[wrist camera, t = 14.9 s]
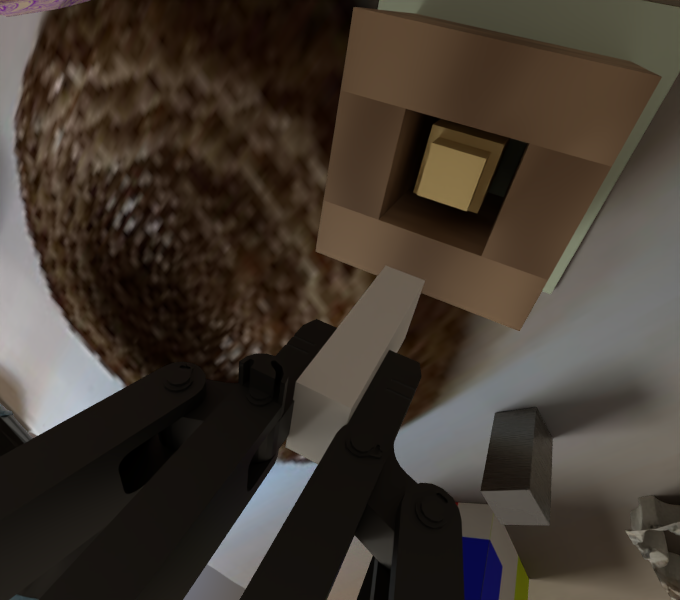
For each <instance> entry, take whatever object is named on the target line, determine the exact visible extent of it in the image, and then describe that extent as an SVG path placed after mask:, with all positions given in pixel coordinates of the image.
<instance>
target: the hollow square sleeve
mask: <svg viewBox="0 0 680 600" xmlns="http://www.w3.org/2000/svg"><path fill="white" fill-rule="evenodd" d="M661 78H662V77H661V76H659V75H657V74H655V73H653V72H651V71H649V70H647V69H645V68H643V67H641V66H639V65H637V64H635V63H633V62H631V61H627V60H623V59H618V58H614V57H609V56H605V55H600V54H596V53H591V52H587V51H582V50H578V49H573V48H569V47H564V46H560V45H555V44H551V43H546V42H542V41H537V40H533V39H528V38H524V37H519V36H515V35H510V34H506V33H501V32H497V31H492V30H488V29H483V28H479V27H474V26H470V25H465V24H461V23H456V22H452V21H447V20H443V19H438V18H434V17H429V16H425V15H420V14H415V13H406V12H397V11H387V10H378V9H368V8H359V7H354V8H353V15H352V21H351V28H350V34H349V40H348V47H347V53H346V60H345V66H344V72H343V79H342V85H341V92H340V98H339V104H338V111H337V117H336V124H335V130H334V137H333V143H332V149H331V156H330V162H329V169H328V175H327V181H326V188H325V194H324V201H323V207H322V213H321V220H320V226H319V233H318V239H317V245H316V252H318V253H321V254H323V255H326V256H328V257H331V258H334V259H336V260H339V261H341V262H344V263H346V264H349V265H351V266H354V267H357V268H359V269H362V270H364V271H367V272H369V273H372V274H375V275H377V276H378V275H379V274H380V272H381V271H382V270H383V269H384V267H385V266H388V267H391V268H394V269H396V270H399V271H401V272H404V273H407V274H409V275H412V276H414V277H417V278H420V279H422V280H425V282H424V285H423V288H422V291H421V293H423V294H426V295H428V296H431V297H433V298H436V299H439V300H441V301H444V302H446V303H449V304H451V305H454V306H456V307H459V308H462V309H464V310H467V311H469V312H472V313H474V314H477V315H480V316H482V317H485V318H487V319H490V320H492V321H495V322H497V323H500V324H503V325H505V326H508V327H510V328H513V329H515V330H518V331H520V329H521V328H522V326H523V324H524V322H525V320H526V319H527V317H528V315H529V313H530V312H531V310H532V308H533V306H534V304H535V303H536V301H537V299H538V297H539V296H540V294H541V292H542V290H543V288H544V287H545V285H546V283H547V281H548V279H549V278H550V276H551V274H552V272H553V271H554V269H555V267H556V265H557V263H558V262H559V260H560V258H561V256H562V255H563V253H564V251H565V249H566V247H567V246H568V244H569V242H570V240H571V238H572V237H573V235H574V233H575V231H576V230H577V228H578V226H579V224H580V222H581V221H582V219H583V217H584V215H585V214H586V212H587V210H588V208H589V206H590V205H591V203H592V201H593V199H594V197H595V196H596V194H597V192H598V190H599V189H600V187H601V185H602V183H603V181H604V180H605V178H606V176H607V174H608V173H609V171H610V169H611V167H612V165H613V164H614V162H615V160H616V158H617V156H618V155H619V153H620V151H621V149H622V148H623V146H624V144H625V142H626V140H627V139H628V137H629V135H630V133H631V132H632V130H633V128H634V126H635V124H636V123H637V121H638V119H639V117H640V115H641V114H642V112H643V110H644V108H645V107H646V105H647V103H648V101H649V99H650V98H651V96H652V94H653V92H654V91H655V89H656V87H657V85H658V83H659V82H660V80H661ZM440 119H444V120H448V121H451V122H455V123H459V124H462V125H466V126H469V127H473V128H476V129H480V130H483V131H487V132H490V133H494V134H498V135H501V136H505V137H508V138H512V139H515V140H519V141H522V142H526V146H525V148H524V151H523V153H522V155H521V158H520V160H519V162H518V165H517V167H516V169H515V172H514V174H513V176H512V179H511V181H510V183H509V186H508V188H507V191H506V193H505V195H504V197H501V196H498V195H495V194H492V193H489V192H488V193H487V195H486V197H485V199H484V201H483V203H482V205H481V207H480V209H479V211H478V213H474V212H471V211H468V210H467V211H464V210H461V209H458V208H455V207H452V206H449V205H446V204H443V203H440V202H437V201H434V200H431V199H428V198H425V197H422V196H419V195H417V194H416V193H413V191H414V188H415V184H416V181H417V178H418V174H419V171H420V167H421V164H422V160H423V157H424V153H425V150H426V146H427V143H428V139H429V136H430V132H431V129H432V125H433V124H434V123H435V122H437V121H438V120H440Z"/></svg>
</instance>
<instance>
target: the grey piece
mask: <svg viewBox="0 0 680 600" xmlns="http://www.w3.org/2000/svg"><path fill="white" fill-rule="evenodd" d="M638 501H639V507H638V508H637V509H635V510H633V511H631V514H630V516H631V526H632V531H631V530H625V531H626V533H627V534H628V536H629V538H630V539H631V541H632V543H633V544H634V545H636V546H637V547H638V549H639V551H640V552H641V554H642V556H643V558H644V559H645V560H649V561H650V563H651V565H652V567H653V569H654V571H655V573H656V575H657V577H658V578H659V580H660V582H661V584H662V586H663V587H664V589H665V590H666V592H667V593H668V594H669V596H670V597H671V599H672V600H680V555H678V554H675V553H672V552H668V549H667V544H666V539H665V534H664V532H663V530H669V531H670V532H673V533H674V534H676V535H680V505H671V504H667V503H664V502H661V501H659V500H658V499H657V498H655V497H654V496H645V497H640V498H638Z"/></svg>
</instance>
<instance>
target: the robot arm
mask: <svg viewBox="0 0 680 600" xmlns="http://www.w3.org/2000/svg"><path fill="white" fill-rule="evenodd" d="M424 282H425V280H422V279H420V278H417V277H414V276H412V275H409V274H407V273H404V272H401V271H399V270H396V269H394V268H391V267H388V266H385V267H384V269H383V270H382V271H381V272H380V274H379V275H378V276H377V278H376V279H375V280H374V281H373V283H372V284H371V285H370V287H369V288H368V289H367V290H366V292H365V293H364V294H363V296H362V297H361V298H360V300H359V301H358V302H357V303H356V305H355V306H354V307H353V309H352V310H351V311H350V312H349V314H348V315H347V316H346V318H345V319H344V320H343V321H342V323H341V324H340V325H339V327H338V328H336V327H333V326H331V325H329V324H327V323H324V322H322V321H320V320H317V319H316V320H313V321H311V322H309V323H307V324H305V325H303V326H302V327H301V328H300V329H299V330H298V332H297V333H296V334H295V335H294V337H292V338H291V339H290V340H289V342H288V343H287V345H285V346H284V347H283V348H282V349H281V351H280V352H279V353H278V354H277V355H276V356H273V355H269V354H253V355H250V356H247V357H245V358H244V359H242V360H241V361H239V383H225V382H219V381H213V380H208V379H206V378H205V373H204V372H203V370H202V369H201V368H200V367H199V366H197V365H195V364H193V363H188V362H176V363H171V364H169V365H166V366H163V367H162V368H160V369H158V370H156V371H154V372H152V373H151V374H149V375H147V376H145V377H143V378H142V379H140V380H138V381H136V382H134V383H133V384H131V385H129V386H127V387H125V388H124V389H122V390H120V391H118V392H116V393H114V394H113V395H111V396H109V397H107V398H105V399H104V400H102V401H100V402H98V403H96V404H95V405H93V406H91V407H89V408H87V409H86V410H84V411H82V412H80V413H78V414H77V415H75V416H73V417H71V418H69V419H67V420H66V421H64V422H62V423H60V424H58V425H57V426H55V427H53V428H51V429H49V430H48V431H46V432H44V433H42V434H40V435H39V436H37V437H35V438H32V437H31V435H30V434H29V433H28V432H27V431H26V430H25V429H24V428H23V427H22V426H21V425H20V423H19V422H18V421H17V420H16V419H15V418H14V417H13V416H12V415H13V413H12V412H11V411H10V410H6V409H5V408H4V407H3V406H2V405H1V404H0V600H183V599H184V597H185V596H186V594H187V593H188V592H189V590H190V588H191V587H192V586H193V584H194V583H195V581H196V579H197V578H198V577H199V575H200V574H201V572H202V571H203V569H204V568H205V566H206V565H207V563H208V562H209V560H210V559H211V557H212V556H213V554H214V553H215V551H216V550H217V548H218V547H219V546H220V544H221V543H222V541H223V540H224V538H225V537H226V535H227V534H228V532H229V531H230V529H231V528H232V526H233V525H234V523H235V522H236V520H237V519H238V517H239V516H240V514H241V513H242V511H243V510H244V508H245V507H246V505H247V504H248V502H249V501H250V500H251V498H252V497H253V495H254V494H255V492H256V491H257V489H258V488H259V486H260V485H261V483H262V482H263V480H264V479H265V477H266V476H267V474H268V473H269V471H270V470H271V468H272V467H273V465H274V464H275V461H276V459H277V457H278V450H279V448H280V447H281V445H282V444H283V442H284V441H285V439H286V438H287V442H286V447H287V448H288V449H290V450H292V451H294V452H296V453H298V454H300V455H302V456H304V457H305V458H307V459H309V460H311V461H313V462H315V463H317V464H318V466H317V467H316V469H315V471H314V473H313V474H312V476H311V478H310V479H309V481H308V483H307V485H306V486H305V488H304V490H303V491H302V493H301V495H300V497H299V498H298V500H297V502H296V503H295V505H294V507H293V509H292V510H291V512H290V514H289V516H288V517H287V519H286V521H285V522H284V524H283V526H282V528H281V529H280V531H279V533H278V534H277V536H276V538H275V540H274V541H273V543H272V545H271V547H270V548H269V550H268V552H267V553H266V555H265V557H264V559H263V560H262V562H261V564H260V565H259V567H258V569H257V571H256V572H255V574H254V576H253V577H252V579H251V581H250V583H249V584H248V586H247V588H246V590H245V591H244V593H243V595H242V596H241V598H240V600H327V598H328V596H329V593H330V591H331V589H332V586H333V584H334V582H335V579H336V577H337V575H338V572H339V570H340V568H341V565H342V563H343V561H344V558H345V556H346V554H347V551H348V549H349V547H350V544H351V542H352V540H353V537H354V535H355V536H356V537H357V538H358V539H359V540H360V541H361V543H362V544H363V545H364V546H365V547H366V548H367V549H368V550H369V551H370V552H371V554H372V555H373V556H374V557H375V562H374V571H373V579H372V587H371V596H370V600H465V597H464V570H463V543H462V520H461V515H460V511H459V508H458V506H457V504H456V503H455V501H454V499H453V498H452V497H451V496H450V495H449V494H448V493H447V492H446V491H445V490H444V489H442V488H440V487H438V486H436V485H434V484H429V483H419V484H417V483H416V482H415V481H414V480H413V479H412V478H411V477H410V476H409V475H408V474H407V473H406V472H405V471H404V470H403V469H402V468H401V467H400V465H399V463H398V461H397V460H396V457H395V453H394V441H395V438H396V436H397V434H398V431H399V429H400V427H401V424H402V422H403V420H404V417H405V415H406V413H407V410H408V408H409V405H410V403H411V401H412V398H413V396H414V393H415V391H416V388H417V386H418V384H419V381H420V379H421V370H420V363H418V362H416V361H414V360H412V359H409V358H407V357H405V356H402V355H400V354H398V353H397V352H398V350H399V348H400V346H401V344H402V342H403V340H404V338H405V336H406V333H407V330H408V328H409V325H410V322H411V319H412V316H413V313H414V311H415V308H416V305H417V302H418V299H419V296H420V293H421V291H422V288H423V285H424Z"/></svg>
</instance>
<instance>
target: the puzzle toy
mask: <svg viewBox="0 0 680 600" xmlns="http://www.w3.org/2000/svg"><path fill="white" fill-rule="evenodd" d="M455 503H456V504H457V506H458V508H459V511H460V515H461V520H462V543H463V570H464V597H465V600H528V586H529V578H528V576H527V574H526V572H525V569H524V567H523V565H522V563H521V561H520V558H519V556H518V554H517V552H516V550H515V547H514V545H513V543H512V541H511V539H510V536H509V534H508V532H507V530H506V528H505V525H501V524H500V523H499V521H498V519H497V518H496V516H495V514H494V513H493V511H492V509H491V508H490V506H489V505H488V504H474V503H459V502H455ZM374 562H375V557H374V556H373V557H372V560H371V562H370V565H369V568H368V570H367V573H366V576H365V579H364V581H363V584H362V587H361V589H360V592H359V595H358V598H357V600H370V596H371V587H372V579H373V571H374Z"/></svg>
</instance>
